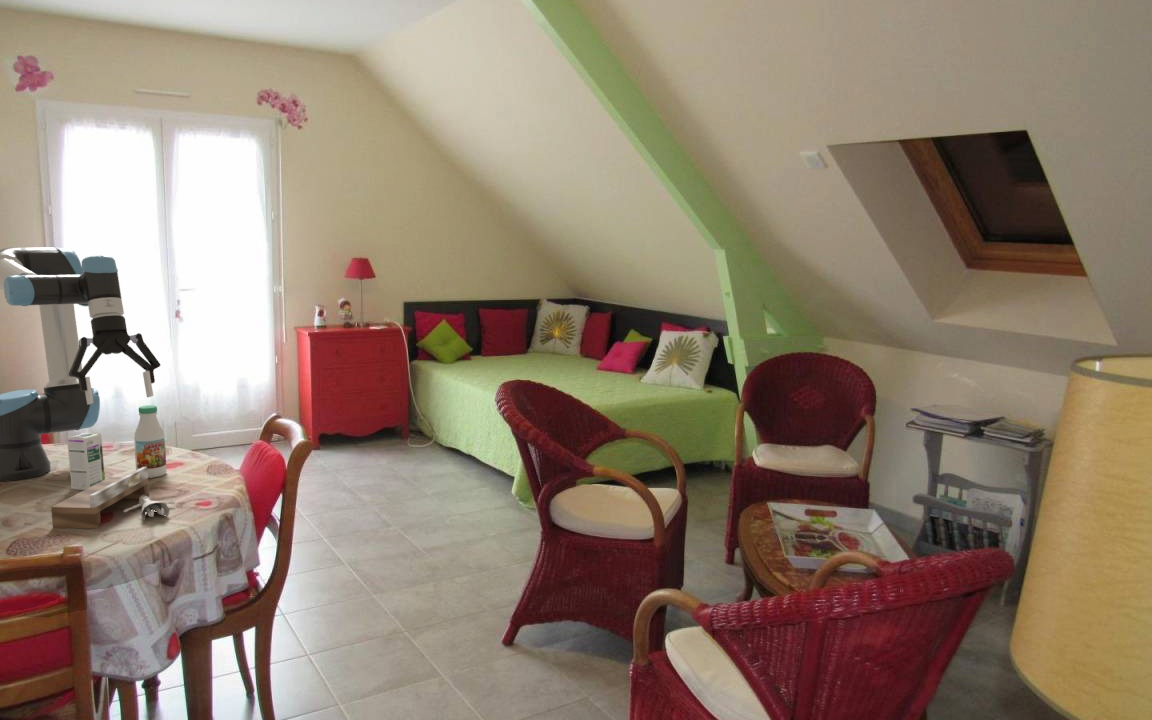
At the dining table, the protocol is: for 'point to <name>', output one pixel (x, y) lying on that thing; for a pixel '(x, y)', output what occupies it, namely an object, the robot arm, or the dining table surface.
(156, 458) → the milk bottle
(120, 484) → the shelf
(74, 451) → the syrup box
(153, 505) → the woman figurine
